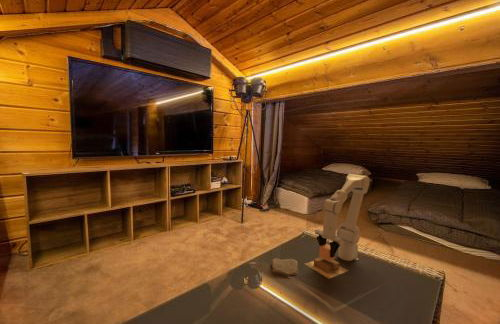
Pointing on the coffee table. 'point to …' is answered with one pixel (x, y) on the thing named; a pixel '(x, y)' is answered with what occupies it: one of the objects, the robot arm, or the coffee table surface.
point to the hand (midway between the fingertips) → (327, 254)
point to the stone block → (285, 267)
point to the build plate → (329, 275)
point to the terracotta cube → (325, 252)
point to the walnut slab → (326, 265)
